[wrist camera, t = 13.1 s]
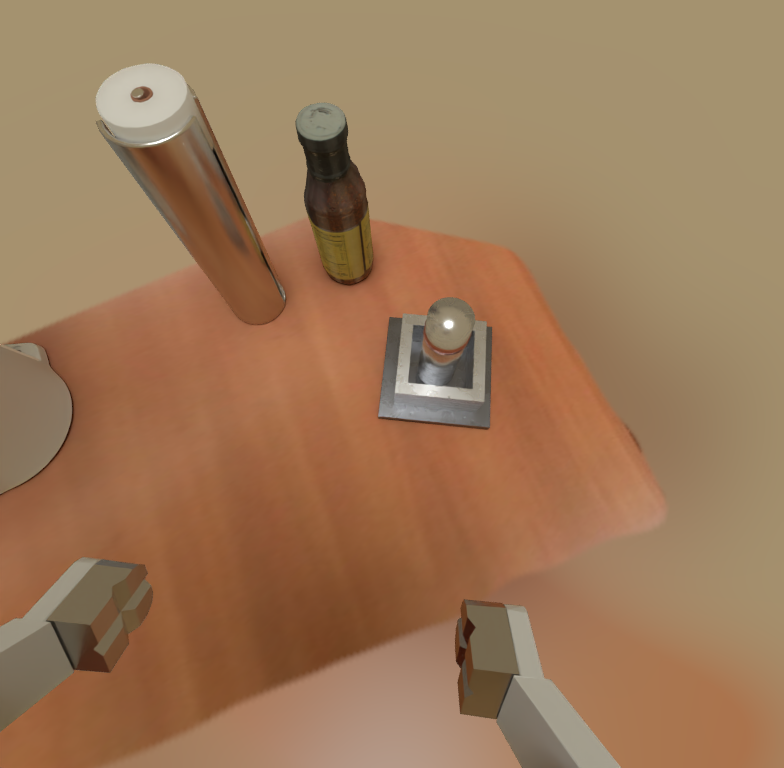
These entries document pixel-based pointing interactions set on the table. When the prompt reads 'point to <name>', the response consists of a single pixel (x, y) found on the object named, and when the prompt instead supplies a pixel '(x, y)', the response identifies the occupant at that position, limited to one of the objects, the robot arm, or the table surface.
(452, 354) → the cylinder
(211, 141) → the silver piece
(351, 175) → the sauce bottle
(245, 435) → the table surface
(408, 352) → the collar
